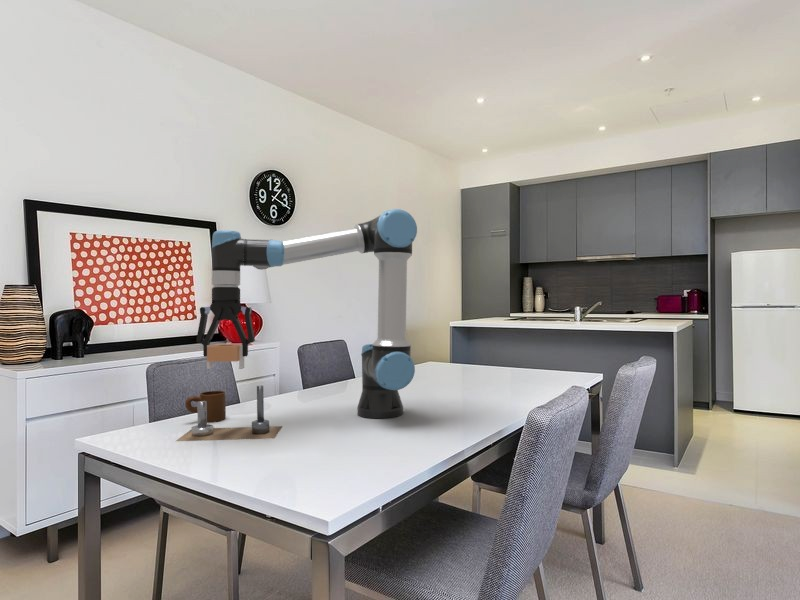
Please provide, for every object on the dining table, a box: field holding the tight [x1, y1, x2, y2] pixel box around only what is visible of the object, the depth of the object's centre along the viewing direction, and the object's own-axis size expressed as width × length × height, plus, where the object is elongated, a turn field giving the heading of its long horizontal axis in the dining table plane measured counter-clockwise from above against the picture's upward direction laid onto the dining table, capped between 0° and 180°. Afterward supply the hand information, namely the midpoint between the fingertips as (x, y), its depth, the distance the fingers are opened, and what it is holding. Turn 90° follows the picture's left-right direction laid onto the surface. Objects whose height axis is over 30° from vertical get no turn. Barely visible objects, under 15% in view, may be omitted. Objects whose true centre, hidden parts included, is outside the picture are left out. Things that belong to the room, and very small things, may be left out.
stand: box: [251, 385, 271, 435], centre depth 146 cm, size 5×5×13 cm
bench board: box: [175, 425, 283, 442], centre depth 145 cm, size 26×13×1 cm, turn 93°
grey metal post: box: [191, 401, 214, 437], centre depth 145 cm, size 6×6×9 cm
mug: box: [184, 390, 227, 424], centre depth 160 cm, size 12×8×9 cm, turn 130°
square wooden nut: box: [206, 343, 242, 363], centre depth 145 cm, size 8×8×4 cm
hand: (225, 368), depth 145 cm, fingers closed on square wooden nut, 8 cm apart
